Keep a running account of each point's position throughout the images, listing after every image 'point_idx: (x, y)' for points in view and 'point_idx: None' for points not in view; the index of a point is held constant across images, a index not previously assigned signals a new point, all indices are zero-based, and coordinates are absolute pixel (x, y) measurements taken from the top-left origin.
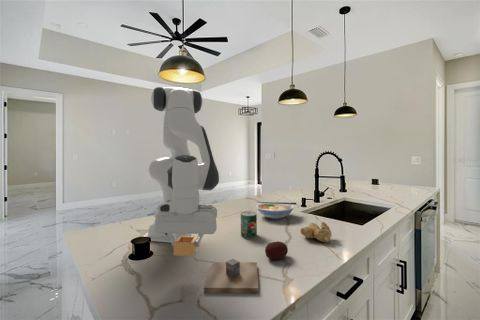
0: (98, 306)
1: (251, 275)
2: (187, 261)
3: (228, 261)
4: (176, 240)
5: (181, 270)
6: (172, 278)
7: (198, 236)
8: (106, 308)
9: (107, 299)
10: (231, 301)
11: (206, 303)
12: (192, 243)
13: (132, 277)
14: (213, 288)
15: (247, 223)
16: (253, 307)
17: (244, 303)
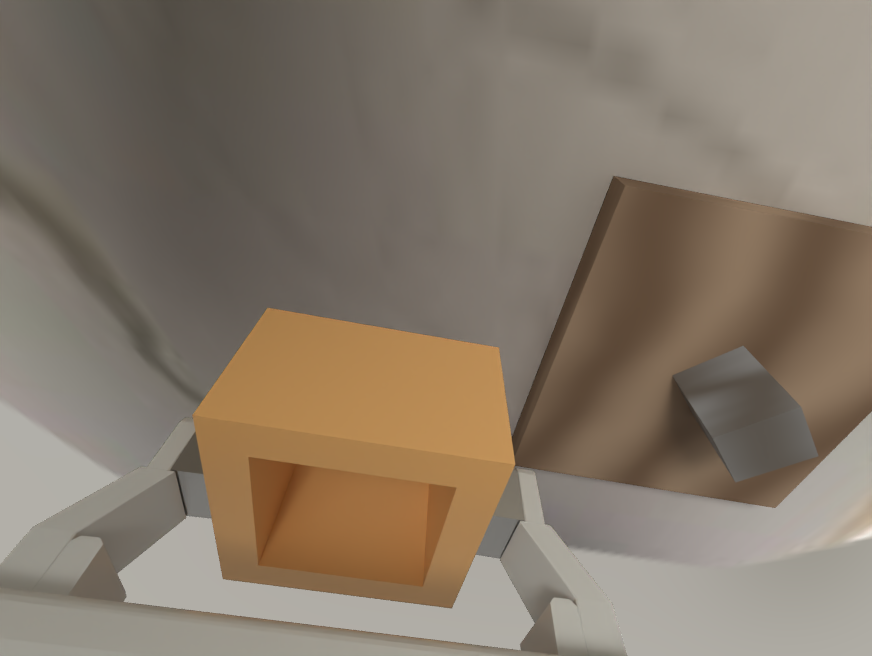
0: (72, 446)
1: (821, 418)
2: (371, 13)
3: (735, 437)
4: (224, 536)
5: (349, 202)
6: (313, 301)
7: (521, 646)
8: (117, 460)
9: (69, 414)
10: (617, 504)
11: None
12: (442, 603)
13: (27, 243)
14: (558, 470)
15: None
16: (687, 538)
17: (664, 519)
